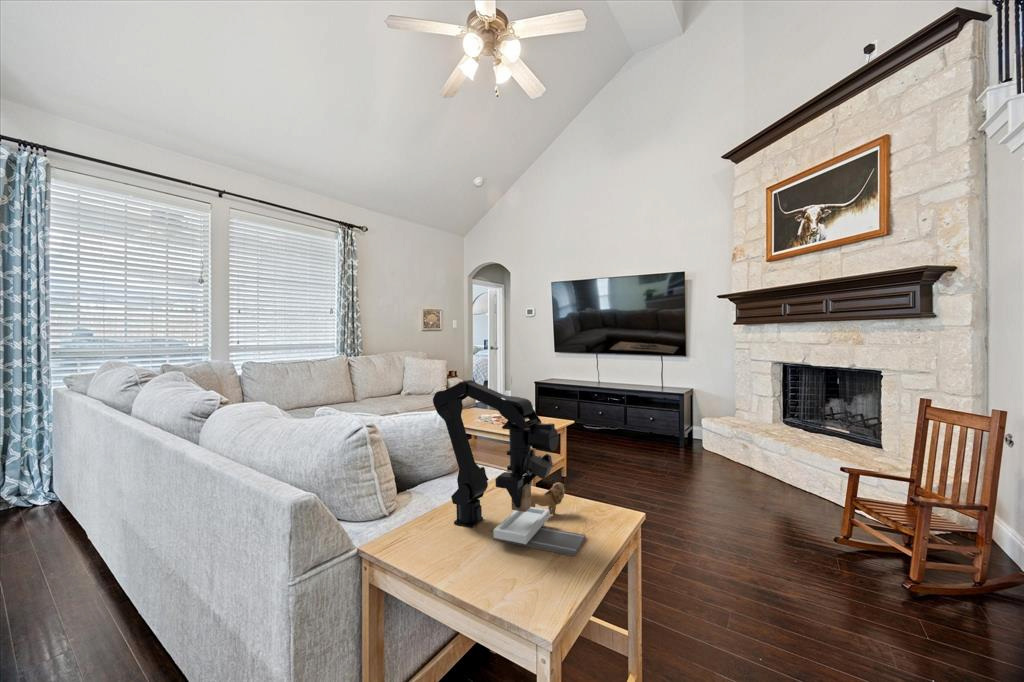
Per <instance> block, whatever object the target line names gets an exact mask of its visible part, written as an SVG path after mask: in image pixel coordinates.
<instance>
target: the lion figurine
mask: <svg viewBox="0 0 1024 682" xmlns="http://www.w3.org/2000/svg"><path fill="white" fill-rule="evenodd" d="M565 493H566V489H565V484H563V483H562V482H555V483H553V484H552V487H551V488H550V489H548V490H547V491H546V492H545V493H536V492H531V507H535V508H536V505H538V506H540V507H547V508H548V510H550V512H552V513H551V514H552V516H553V517H555V516H556V515H557V516H558V514H557V513H556V509H557V508H556V507H557V505H560V504H561V503H562V501H563V499H564V497H565ZM557 516H556V517H557Z"/></svg>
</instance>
